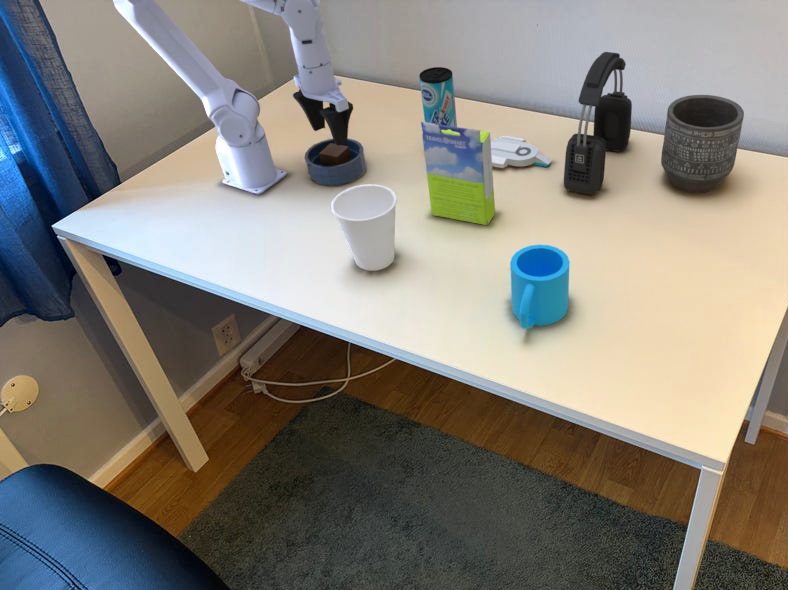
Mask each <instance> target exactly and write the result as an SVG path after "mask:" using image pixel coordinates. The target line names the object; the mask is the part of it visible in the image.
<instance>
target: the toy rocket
mask: <svg viewBox="0 0 788 590" xmlns="http://www.w3.org/2000/svg"><path fill="white" fill-rule="evenodd" d="M490 140H491V157H492V167H494V168H495V167H496V168H500V169H505V168H507V167H508V166H513V167H526V166H531V165H535V166H540V167H544V168H545V167H546V168H547V167H548V166H549V165H550V163H552V159H551V158H550V157H548V156H546V155H544V154H543V153H541V152H539V148H538V147H537V146H536V145H535V144H533V143H531V142H526V141H527V140H526V138H521V137H517V136H516V137H515V136H511V135H501V136H500V137H499V136H498V137H496V138H495V139H491V138H490Z"/></svg>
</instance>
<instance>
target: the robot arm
mask: <svg viewBox="0 0 788 590" xmlns="http://www.w3.org/2000/svg"><path fill="white" fill-rule="evenodd" d="M239 1H240V2H243V3H244V4H248V5H250V6H252V7H255V8H258V9H260V10H263V11H264V12H265V11H266V12H268V13H271V14H273V15H276V16H281V18H282V20H283V21H284V23H285V24H286V25H287V26H288V29H289V33H290V36H289V37H290V41H291V42H290V43H291V47H292V50H293V54H294V58H295V59H294V60H295V62H296V67H297V71H298V74H296V75H293V81H294V84H295V87H296V88H298V91H296V92H293V94H292V97H293V99H294V100H295V101H296V102H297V103H298V105H299V106H300V108H301V109H302V111H303V112H304V114H305V116H306V118H307V120H308V123H309V124H310V126H311V128H312V130H313V131H314V132H317V131H320V130H322V129H324V128H326V124H327V126H328V128H329V132H330V135H331V137H332V139H333V140H334V142H335V144H336V145H338V146H339V145H341V144H343V143H346V142H347V138H348V136H349V124H350V119H351V115H352V114H353V111H354V104H353V103H351V101H348V97H346V96H345V95H344V94H343V92H342V90H341V88H340V86H342V80H341V79H339V78H338V77H335V74H334V68H333V64H332V63H333V62H332V58H331V54H330V53H331V52H330V49H329V44H328V38H327V34H326V30H325V29H324V22H323V19H322V16H321V13H320V6H321V0H239ZM112 2H113V4H114V7H115V9H116V10H117V12H118V13H119V14H120V15H121V16H122V17H123V18H124V19H125V20H126V21H127V23H128V24H130V26H131V27H132V28H133V29H135V31H136V32H137V33H138V34H139V35H140V36H141V37H142V38H143V39H144V40H145V41H146V42H147V43H148V45H149V46H150V47H152V49H153V50H154V51H155V52H156V53H157V54H158V55H159V56H160V58H162V59H163V60H164V62H166V64H167V65H168V66H169V67H170V68H171V69H172V70H173V71H174V72H175V73H176V74H177V75H178V77H180V78H181V79H182V81H183V82H184V83H185V84H186V85H187V86H188V87H189V88H190V89H191V90H192V91H193V92H194V93H195V94H196V95H197V96H198V98H199V99H200V100H201V101H202V104H203V107H204V109H205V112H206V115H207V117H208V119H209V120H210V121H211V122H212V123H213V125H214V126H215V129H216V131H217V134H218V136H217V138H216V140H215V151H216V153H215V154H216V155H217V158H218V162H219V164H220V167H221V170H222V173H223V175H224V179H222V183H223V184H224V185H227V186H230V187H233V188H237V189H239V190H243V191H246V192H249V193H252V194H255V195H261V194H262V193H264V192H265V191H267V190H268V189H269V188H271V187H273V186H274V185H275V184H276V183H278V182H279V181H281V180H282V179H284V178H285V177H286V176H288V172H287V171H286V170H282V169H279V168H276V166H275V162H274V159H273V155H272V152H271V148H270V146H269V142H268V138H267V135H266V131H265V129H264V127H263V126H262V124H261V123H260V122H259V120H258V119H259V116H260V113H261V105H260V102H259V100H258V98H257V97H256V96H255V95H254V94H253V93H251V92H250V91H247V90H245V89H243V88H242V87H240V85H238V84H237V82H236V81H235V80H232V79H229V78H227V77H225V76H223V75H222V74H221V72H220V71H219V70H218V69H217V68H216V67H215V66H214V65H213V64H212V62H211V61H210V60H209V59H208V58H207V56H205V55H204V54H203V52H202V51H201V50H200V49H199V48H198V46H196V44H195V43H194V42H193V41H192V40H191V39H190V38H189V36H187V35H186V33H184V31H183V30H182V29H181V28H180V26H179V25H177V23H176V22H175V21H174V20H173V19H172V18H171V17H170V16H169V14H168V13H167V12H166V11H165V10H164V9H163V7H161V6H160V5H159V4H158V2H157V1H156V0H112ZM324 103H328V105H329V106H327V107H324ZM348 139H349V138H348Z"/></svg>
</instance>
